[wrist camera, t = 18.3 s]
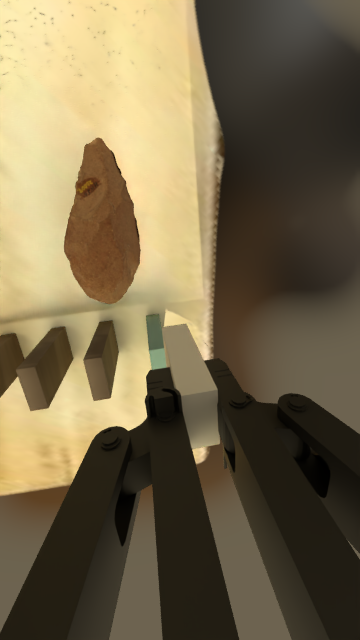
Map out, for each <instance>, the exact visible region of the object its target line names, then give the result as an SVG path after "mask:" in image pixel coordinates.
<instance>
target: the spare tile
mask: <svg viewBox="0 0 360 640" xmlns="http://www.w3.org/2000/svg"><path fill="white" fill-rule="evenodd" d="M146 321H147V333H148V344H149V353H150V360H151V367H152V370H154V369H160V368H166V367H167V366H166V358H165V350H164V342H163V334H162V327H161V322H160V318H159V314H157V315H150V316H146Z"/></svg>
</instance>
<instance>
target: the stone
mask: <svg viewBox="0 0 360 640" xmlns="http://www.w3.org/2000/svg"><path fill="white" fill-rule="evenodd" d="M75 188H76V195H75V199H74V205H73V206H72V209H71V212H70V217H69V219H68V225H67V229H66V235H65V241H64V252H65V254H66V256H67V258H68V260H69V262H70V267H71V270H72V272H73V275H74V277H75V279H76V280H77V281H78V283H79V285H80V286H81V287H82V289H83V290H84V292H85V293H86V294H87V295H88V296H89V297H90V298H93V299H95V300H98V301H100V302H105V303H107V304H113V303H116V302H117V301H119V300H120V299H121V298H122V297H123V295H124V294H125V293H126V292H127V289H128V288H129V286H131V284H132V282H133V280H134V274H135V273H136V270H137V268H138V266H139V264H140V251H141V250H140V244H139V233H138V228H137V221H136V218H135V215H134V203H133V202H132V200H131V198H130V195H129V193H128V191H127V187H126V181H125V180H124V178H123V177H122V175H121V171H120V169H119V168H118V166H117V163H116V159H115V156H114V153H113V152H112V151H111V150H109V148H108V147H107V146H106V145H105V143H104V141H103V140H102V139H101V138H96V139H95V140H93V141H92V142H91V143H89V144H86V145H85V147H84V154H83V161H82V166H81V167H80V171H79V173H78V181H77V182H76V185H75Z"/></svg>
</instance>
